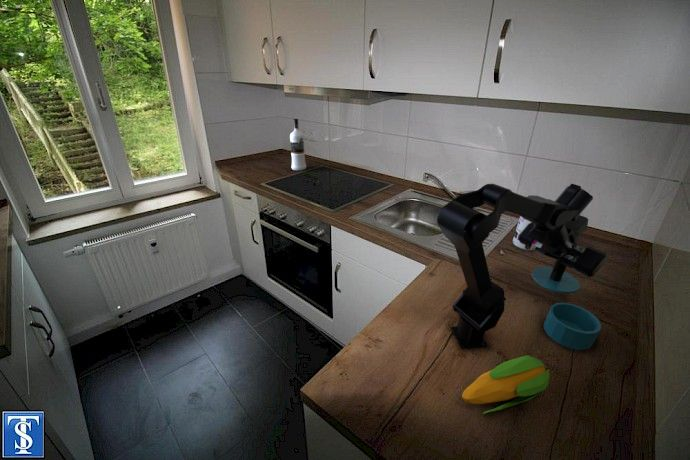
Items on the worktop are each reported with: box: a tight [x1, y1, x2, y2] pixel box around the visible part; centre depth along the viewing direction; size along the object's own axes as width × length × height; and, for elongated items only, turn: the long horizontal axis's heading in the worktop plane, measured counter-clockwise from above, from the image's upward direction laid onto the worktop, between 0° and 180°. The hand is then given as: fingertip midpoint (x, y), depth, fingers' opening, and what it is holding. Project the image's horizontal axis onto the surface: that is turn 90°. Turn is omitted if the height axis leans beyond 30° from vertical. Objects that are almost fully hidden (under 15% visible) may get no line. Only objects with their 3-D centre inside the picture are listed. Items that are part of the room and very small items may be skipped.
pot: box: [543, 302, 602, 351], centre depth 76 cm, size 10×10×5 cm
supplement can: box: [512, 215, 537, 251], centre depth 111 cm, size 8×8×15 cm
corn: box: [461, 354, 550, 415], centre depth 61 cm, size 7×8×20 cm
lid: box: [531, 256, 581, 295], centre depth 84 cm, size 11×11×10 cm
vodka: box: [289, 118, 307, 172], centre depth 190 cm, size 9×9×30 cm
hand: (564, 261), depth 84 cm, fingers closed on lid, 2 cm apart
